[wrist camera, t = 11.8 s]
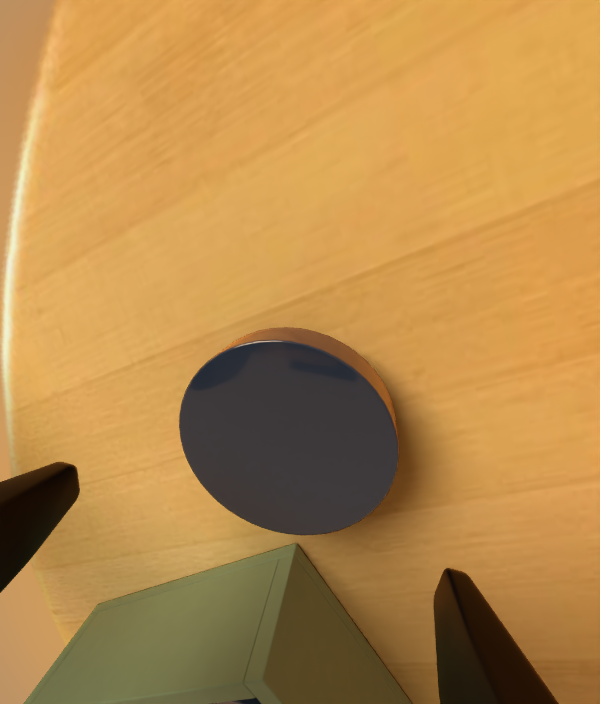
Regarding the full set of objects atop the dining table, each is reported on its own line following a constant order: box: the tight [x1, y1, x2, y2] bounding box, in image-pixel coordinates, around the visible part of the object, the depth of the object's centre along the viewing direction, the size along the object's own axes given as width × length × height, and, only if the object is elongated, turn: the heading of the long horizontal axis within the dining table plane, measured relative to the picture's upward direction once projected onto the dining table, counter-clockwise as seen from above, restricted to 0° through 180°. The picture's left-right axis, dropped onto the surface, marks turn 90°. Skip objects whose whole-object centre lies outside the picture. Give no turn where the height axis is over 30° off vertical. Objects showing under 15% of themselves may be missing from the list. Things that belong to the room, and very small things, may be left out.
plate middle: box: [179, 327, 399, 535], centre depth 12 cm, size 7×7×2 cm
